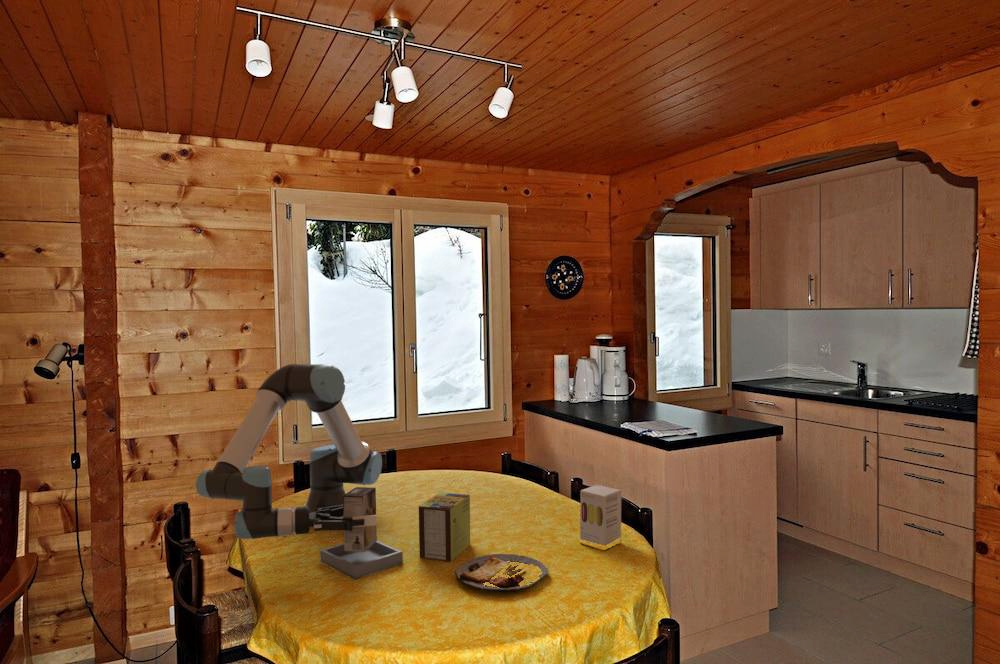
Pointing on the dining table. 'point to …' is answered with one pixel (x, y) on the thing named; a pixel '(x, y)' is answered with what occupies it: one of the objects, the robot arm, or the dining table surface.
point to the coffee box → (359, 504)
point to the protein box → (444, 526)
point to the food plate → (495, 571)
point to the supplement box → (600, 514)
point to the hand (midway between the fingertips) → (375, 514)
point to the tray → (361, 559)
